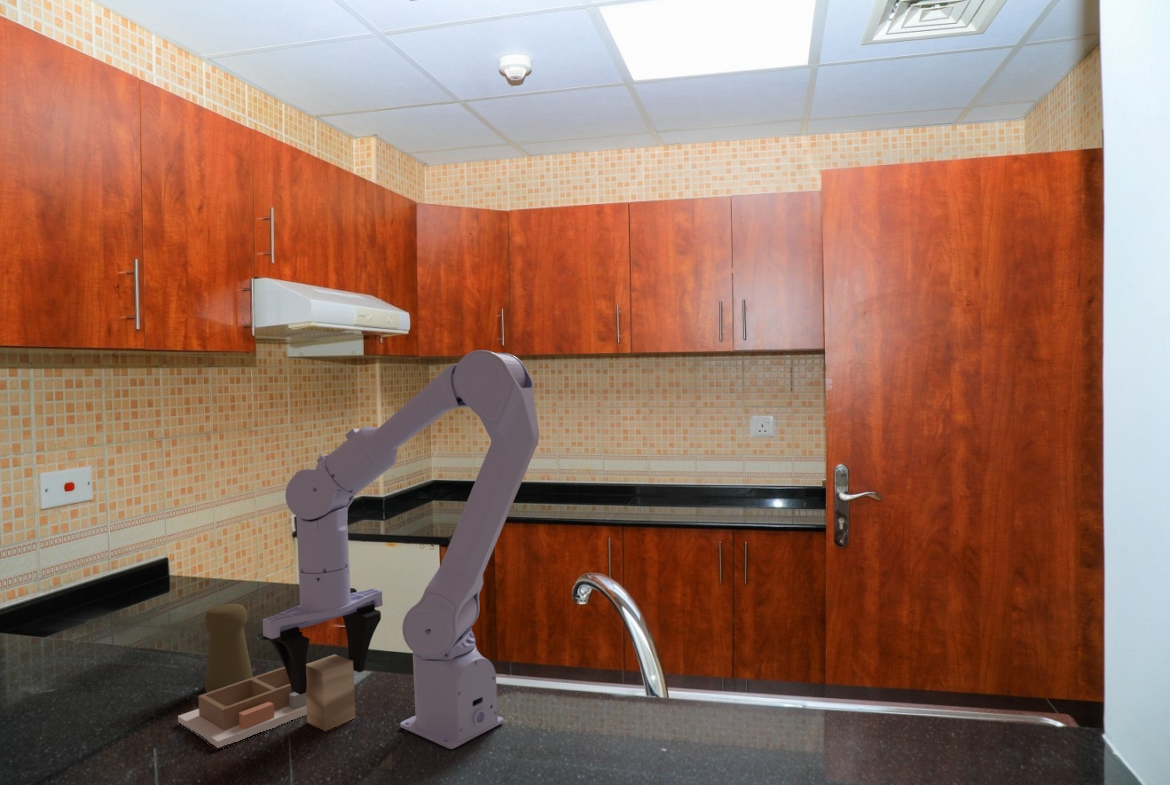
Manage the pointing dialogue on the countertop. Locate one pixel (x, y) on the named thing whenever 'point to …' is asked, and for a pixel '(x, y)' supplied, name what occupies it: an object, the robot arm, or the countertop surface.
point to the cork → (226, 647)
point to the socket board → (245, 708)
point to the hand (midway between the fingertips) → (328, 680)
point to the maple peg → (330, 692)
